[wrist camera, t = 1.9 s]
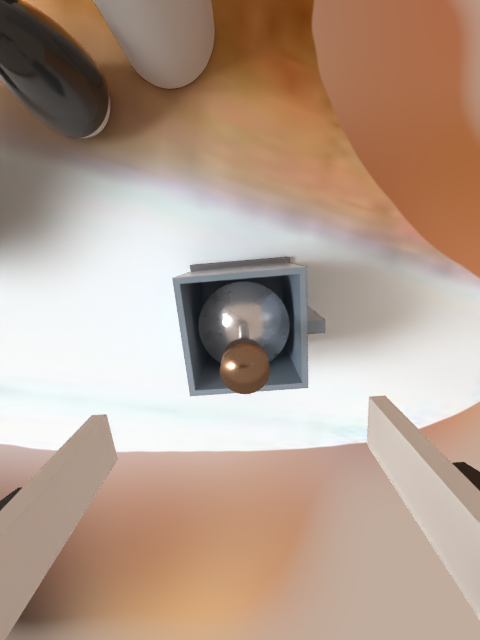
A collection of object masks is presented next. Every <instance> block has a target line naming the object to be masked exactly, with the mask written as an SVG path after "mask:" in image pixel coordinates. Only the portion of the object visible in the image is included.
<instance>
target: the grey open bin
mask: <svg viewBox="0 0 480 640" xmlns="http://www.w3.org/2000/svg"><path fill="white" fill-rule="evenodd" d="M190 268H191V272H188V273H185V274H182V275H180V276H177V277H174V278H173V285H174V292H175V298H176V305H177V311H178V318H179V325H180V331H181V338H182V345H183V351H184V358H185V364H186V371H187V378H188V384H189V391H190V396H199V395H213V394H227V393H236V392H234V391H232V390H230V389H229V388H228V387H226V385H225V384H224V383H223V381H222V379H221V376H220V366H221V363H220V362H218V361H217V360H215V359H214V358H213V357H212V356H211V355H210V354H209V353H208V352H207V350H206V349H205V347H204V345H203V343H202V341H201V338H200V334H199V317H200V313H201V310H202V308H203V306H204V304H205V302H206V301H207V300H208V298H209V297H210V296H211V295H212V294H213V293H214V292H215V291H216V290H218V289H219V288H221V287H223V286H225V285H227V284H230V283H233V282H239V281H249V282H255V283H259V284H261V285H264V286H265V287H267V288H269V289H270V290H272V291H273V292H274V293H275V294H276V295H277V296H278V297H279V298H280V299H281V301H282V302H283V304H284V306H285V308H286V310H287V313H288V317H289V324H290V325H289V335H288V338H287V341H286V343H285V345H284V347H283V349H282V350H281V352H280V353H279V354H278V355H277V356H276V357H275V358H274V359H273V360H271V361H270V362H268V363H269V367H270V375H269V379H268V381H267V382H266V384H265V385H264V386H263V387H262V388H261V389H260V390H258V391H270V390H284V389H299V388H308V345H307V334H315V333H325V319H323V318H322V317H321V316H320V315H318V314H317V313H316V312H315V311H313V310H312V309H311V308H310V307H308V306H307V285H306V267H305V266H300V265H296V264H291V263H290V257H278V258H267V259H255V260H243V261H232V262H220V263H209V264H197V265H190Z"/></svg>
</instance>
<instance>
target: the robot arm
mask: <svg viewBox="0 0 480 640" xmlns="http://www.w3.org/2000/svg"><path fill="white" fill-rule="evenodd" d="M367 445H368V447H369V448H370V450H371V451H372V453H373V455H374V456H375V458H376V459H377V461H378V462H379V464H380V466H381V467H382V469H383V470H384V472H385V473H386V475H387V476H388V478H389V480H390V481H391V482H392V484H393V486H394V487H395V489H396V490H397V492H398V494H399V495H400V497H401V498H402V500H403V501H404V503H405V504H406V506H407V508H408V509H409V511H410V512H411V514H412V515H413V517H414V518H415V520H416V522H417V523H418V525H419V526H420V528H421V529H422V531H423V532H424V534H425V536H426V537H427V539H428V540H429V542H430V543H431V545H432V547H433V548H434V550H435V551H436V553H437V554H438V556H439V557H440V559H441V560H442V562H443V563H444V565H445V567H446V568H447V570H448V571H449V573H450V574H451V576H452V578H453V579H454V581H455V582H456V584H457V585H458V587H459V589H460V590H461V592H462V593H463V594H464V596H465V598H466V600H467V601H468V602H469V604H470V606H471V607H472V609H473V610H474V612H475V614H476V615H477V617H478V618H479V620H480V472H479V471H478V470H476V469H474V468H473V467H471V466H469V465H468V464H466V463H465V462H457V463H451V462H450V461H449V460H448V459H447V458H446V457H445V456H444V455H443V454H442V452H440V450H439V449H438V448H436V446H435V445H434V444H433V443H431V441H430V440H428V439H427V437H426V436H425V435H424V434H423V433H422V432H421V431H420V430H419V429H418V428H417V427H416V426H415V425H414V424H413V423H412V422H411V421H410V420H409V419H408V418H407V417H406V416H405V415H404V414H403V413H402V412H401V411H400V410H399V409H398V408H397V407H396V406H395V405H394V404H393V403H392V402H391V401H390V400H389V399H388V398H387V397H386V396H374V397H369V411H368V435H367ZM117 460H118V459H117V455H116V451H115V447H114V443H113V439H112V435H111V431H110V427H109V423H108V419H107V415H92V416H91V417H90V418H89V419H88V420H87V421H86V422H85V423H84V424H83V425H82V426H81V427H80V428H79V429H78V430H77V431H76V432H75V433H74V435H73V436H72V437H71V438H70V439H69V440H68V441H67V442H66V443H65V444H64V445H63V446H62V447H61V448H60V449H59V450H58V451H57V452H56V453H55V454H54V455H53V456H52V458H51V459H50V460H49V461H48V462H47V463H46V464H45V465H44V466H43V467H42V468H41V469H40V470H39V471H38V472H37V473H36V474H35V475H34V476H33V478H31V479H30V480H29V481H28V483H27V484H26V485H25V486H24V487H21V488H17V489H16V490H15V491H13V492H12V493H11V494H9V495H8V496H6V497H5V498H4V499H2V500H1V501H0V640H5V639H6V637H7V636H8V634H9V633H10V631H11V629H12V628H13V626H14V625H15V623H16V621H17V620H18V618H19V617H20V615H21V613H22V612H23V610H24V609H25V607H26V605H27V604H28V602H29V601H30V599H31V597H32V596H33V594H34V593H35V591H36V589H37V588H38V586H39V585H40V583H41V581H42V580H43V578H44V577H45V575H46V573H47V572H48V570H49V569H50V566H51V565H52V563H53V562H54V561H55V559H56V557H57V556H58V554H59V553H60V551H61V549H62V548H63V546H64V545H65V543H66V541H67V540H68V538H69V537H70V535H71V533H72V532H73V530H74V529H75V527H76V525H77V524H78V522H79V520H80V519H81V517H82V516H83V514H84V513H85V511H86V509H87V508H88V506H89V505H90V503H91V501H92V500H93V498H94V496H95V495H96V493H97V492H98V490H99V489H100V487H101V485H102V484H103V482H104V481H105V479H106V477H107V476H108V474H109V472H110V471H111V469H112V468H113V466H114V465H115V463H116V461H117Z"/></svg>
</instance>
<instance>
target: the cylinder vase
mask: <svg viewBox="0 0 480 640" xmlns="http://www.w3.org/2000/svg"><path fill="white" fill-rule="evenodd" d="M93 2H94V3H95V5H96V7H97V8H98V10H99V12H100V13H101V15H102V17H103V18H104V20H105V22H106V23H107V25H108V27H109V29H110V30H111V32H112V34H113V35H114V37H115V39H116V40H117V42H118V44H119V45H120V47H121V49H122V51H123V52H124V54H125V56H126V57H127V59H128V61H129V62H130V64H131V65H132V67H133V68H134V69H135V71H136V72H137V73H138V74H139V75H140V76H141V77H142V78H144V79H145V80H146V81H148V82H149V83H151V84H153V85H155V86H158V87H161V88H167V89H174V88H180V87H183V86H186V85H188V84H189V83H191V82H193V81H194V80H195V79H196V78H197V77H198V76H199V75H200V74H201V73H202V72H203V70H204V69H205V67H206V65H207V63H208V61H209V59H210V56H211V53H212V50H213V45H214V36H215V28H214V18H213V9H212V1H211V0H93Z"/></svg>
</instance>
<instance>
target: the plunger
mask: <svg viewBox="0 0 480 640" xmlns="http://www.w3.org/2000/svg"><path fill="white" fill-rule="evenodd" d="M289 325H290V324H289V317H288V313H287V310H286V308H285V306H284V304H283V302H282V301H281V299H280V298H279V297H278V296H277V295H276V294H275V293H274V292H273V291H272V290H270V289H269V288H267V287H265V286H264V285H261V284H259V283H255V282H249V281H239V282H233V283H230V284H227V285H225V286H223V287H221V288H219V289H218V290H216V291H215V292H214V293H213V294H212V295H211V296H210V297H209V298H208V300H207V301H206V302H205V304H204V306H203V308H202V310H201V313H200V317H199V334H200V338H201V341H202V343H203V345H204V347H205V349H206V350H207V352H208V353H209V354H210V355H211V356H212V357H213V358H214V359H215V360H217V361H218V362H220V363H221V366H220V376H221V379H222V381H223V383H224V384H225V385H226V387H228V388H229V389H230V390H232V391H234V392H236V393H240V394H250V393H254V392H256V391H258V390H260V389H261V388H262V387H263V386H264V385H265V384H266V382H267V381H268V379H269V375H270V367H269V363H268V362H270V361H271V360H273V359H274V358H275V357H276V356H277V355H278V354H279V353H280V352H281V350H282V349H283V347H284V345H285V343H286V341H287V338H288V335H289Z"/></svg>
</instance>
